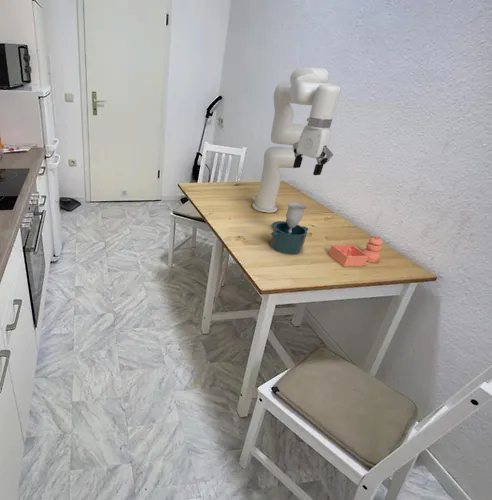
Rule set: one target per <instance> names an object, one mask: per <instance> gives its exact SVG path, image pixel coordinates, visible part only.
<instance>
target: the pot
mask: <svg viewBox="0 0 492 500" xmlns="http://www.w3.org/2000/svg"><path fill="white" fill-rule="evenodd" d="M289 229H290V227H289V226H288V224H287V223H284V222H282V223H277V224H275V227H274V228H273V231H271V232H270V235H271V239H270V243H269V244H270V247H271V248H272V249H273V250H274V251H276V252H279V253H282V254H286V255H299V254H300V253H302V251H303V249H304V245H305V241H306V237H307V235H308V231H309V228H308V227H307V226H306V225H305V226H302V225H299V224H297V225H296V226H295V227H294V228H292V232H291V234H288V230H289Z"/></svg>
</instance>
